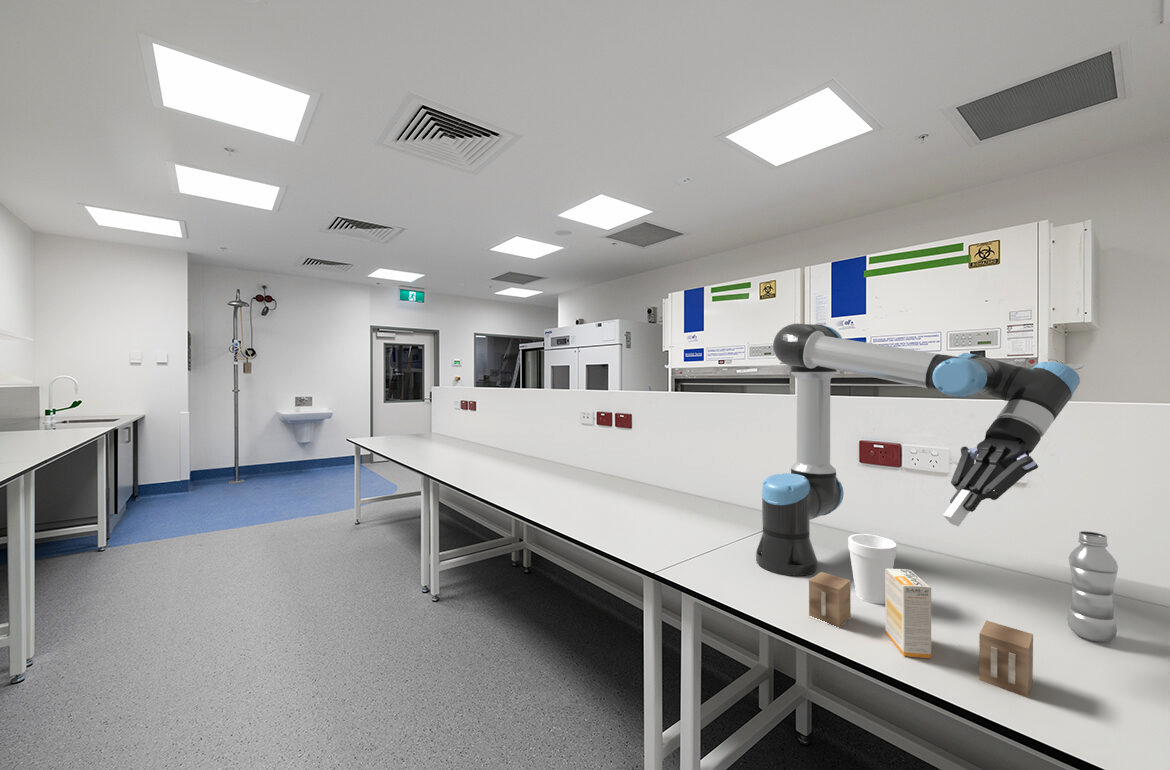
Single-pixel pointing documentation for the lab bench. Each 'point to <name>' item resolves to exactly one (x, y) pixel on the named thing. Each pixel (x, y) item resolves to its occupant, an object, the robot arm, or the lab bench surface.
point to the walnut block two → (1006, 658)
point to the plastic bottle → (1092, 589)
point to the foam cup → (871, 565)
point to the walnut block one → (829, 599)
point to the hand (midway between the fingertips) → (950, 520)
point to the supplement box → (908, 612)
